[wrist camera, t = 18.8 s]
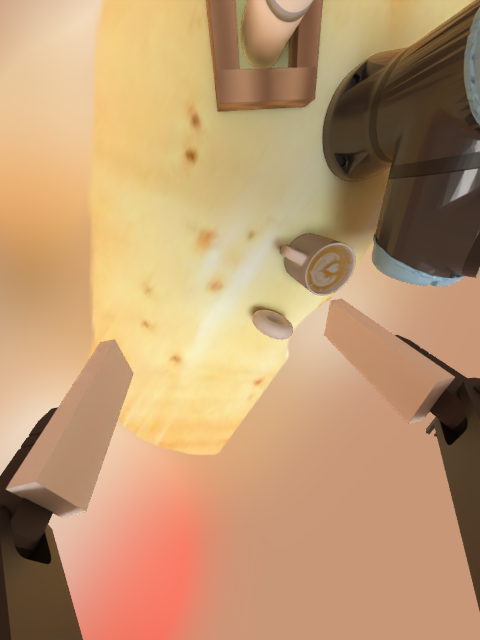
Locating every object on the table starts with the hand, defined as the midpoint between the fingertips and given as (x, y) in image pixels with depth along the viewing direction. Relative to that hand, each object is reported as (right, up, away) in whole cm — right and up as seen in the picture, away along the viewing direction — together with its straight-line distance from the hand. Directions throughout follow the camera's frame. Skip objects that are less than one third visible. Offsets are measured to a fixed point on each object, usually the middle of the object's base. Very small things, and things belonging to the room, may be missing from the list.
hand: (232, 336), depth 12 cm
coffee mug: (+14, +16, +32) cm, 38 cm away
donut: (+7, +3, +38) cm, 39 cm away
